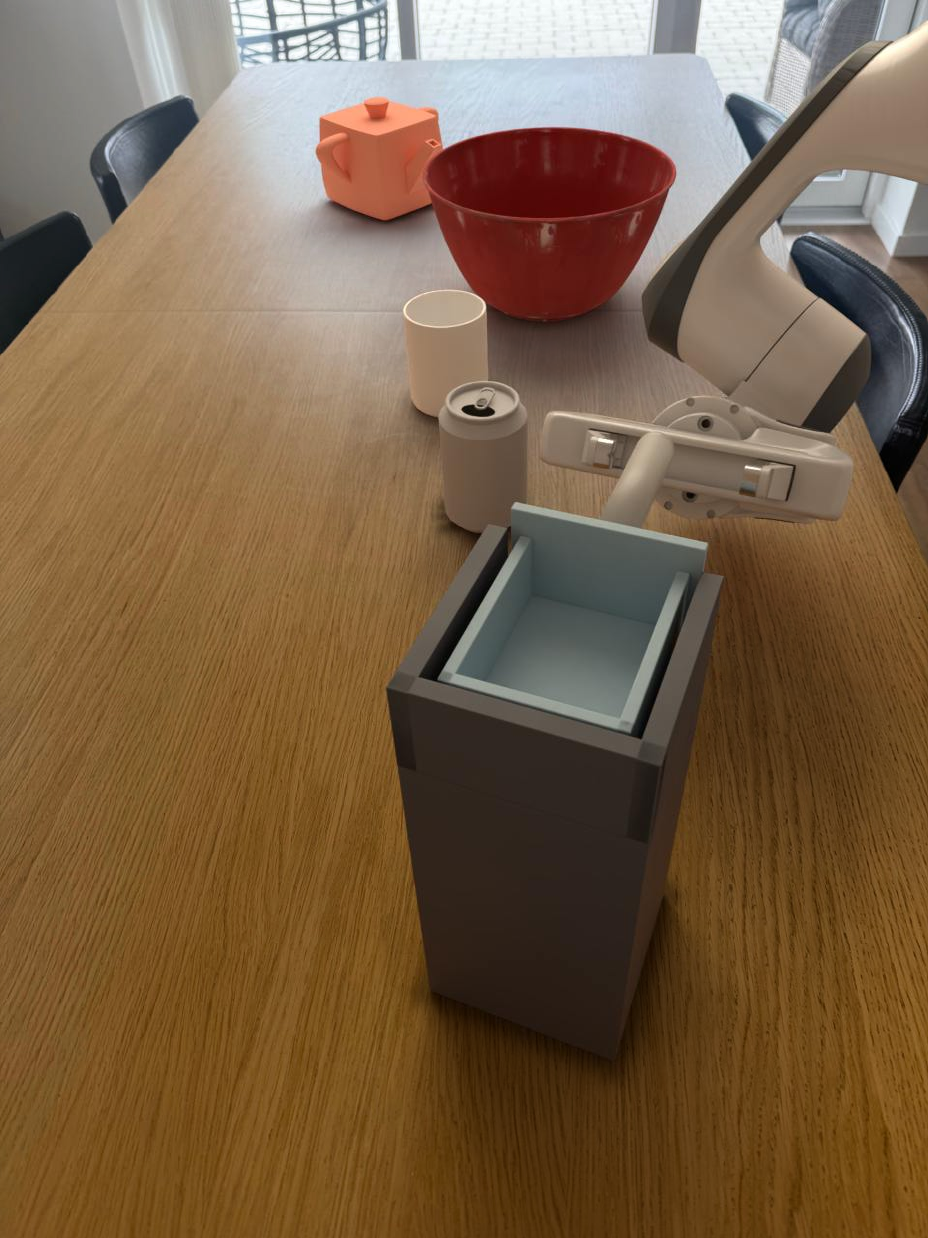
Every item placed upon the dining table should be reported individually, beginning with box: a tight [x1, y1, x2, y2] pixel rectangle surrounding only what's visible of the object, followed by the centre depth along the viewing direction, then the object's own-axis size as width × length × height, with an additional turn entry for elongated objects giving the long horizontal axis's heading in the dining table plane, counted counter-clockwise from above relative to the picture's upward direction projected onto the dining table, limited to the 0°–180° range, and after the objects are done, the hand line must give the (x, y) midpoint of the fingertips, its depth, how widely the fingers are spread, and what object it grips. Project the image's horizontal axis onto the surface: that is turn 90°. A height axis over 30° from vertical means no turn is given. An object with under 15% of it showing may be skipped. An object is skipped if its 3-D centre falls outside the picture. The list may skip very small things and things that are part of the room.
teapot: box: [315, 96, 444, 221], centre depth 138 cm, size 20×22×14 cm
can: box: [438, 380, 529, 534], centre depth 84 cm, size 8×8×12 cm
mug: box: [402, 289, 489, 418], centre depth 100 cm, size 12×8×10 cm
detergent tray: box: [437, 431, 709, 739], centre depth 45 cm, size 9×20×6 cm, turn 157°
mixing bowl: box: [423, 126, 677, 323], centre depth 114 cm, size 28×28×15 cm
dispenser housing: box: [385, 524, 725, 1062], centre depth 49 cm, size 11×11×26 cm
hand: (674, 467), depth 58 cm, fingers open, 8 cm apart
